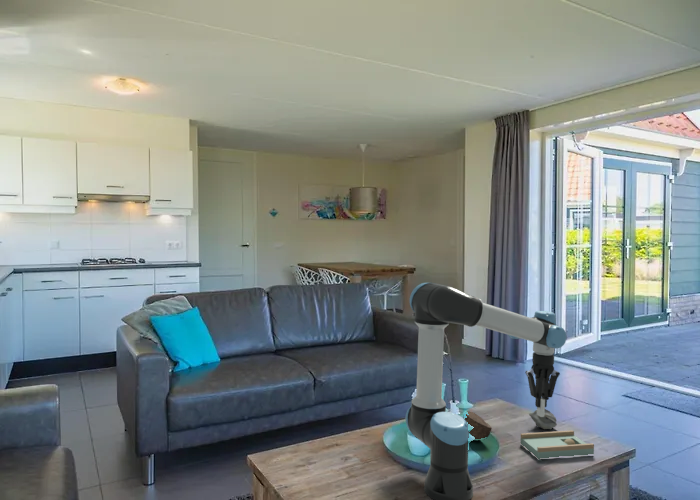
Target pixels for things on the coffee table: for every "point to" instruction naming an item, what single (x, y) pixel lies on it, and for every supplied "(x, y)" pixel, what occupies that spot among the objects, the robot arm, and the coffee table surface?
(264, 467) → the coffee table surface
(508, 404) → the coffee table surface
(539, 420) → the fossil
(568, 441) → the ball
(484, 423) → the rock
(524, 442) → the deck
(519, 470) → the coffee table surface
